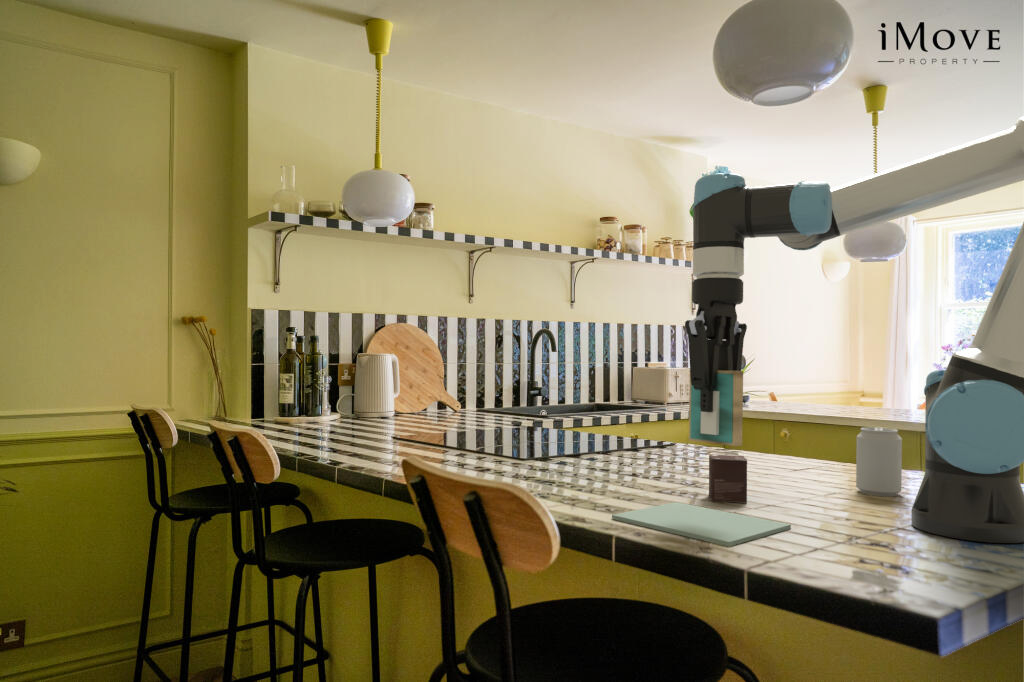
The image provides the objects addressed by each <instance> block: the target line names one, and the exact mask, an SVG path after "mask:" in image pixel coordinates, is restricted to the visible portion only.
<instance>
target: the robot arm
mask: <svg viewBox="0 0 1024 682" xmlns="http://www.w3.org/2000/svg"><path fill="white" fill-rule="evenodd" d="M745 180H746V179H745V178H744V177H743V176H742V175H740V174H738V173H732V172H729V173H722V172H721V173H720V172H719V173H711V174H707V175H703V176H701V177H700V178H698V180H697V181H695V185H694V192H693V193H694V195H693V205H692V214H693V215H692V223H693V224H692V231H693V232H692V235H693V237H692V239H693V240H692V241H693V242H692V275H693V277H695V278H696V279H693V281H692V282H691V301H692V303H693V304H694V305H697V311H696V314H695V316H696V317H694V319H691V320H690V319H687V320H686V321H685V322H684V326H685V327H684V328H685V330H686V333H687V343H688V357H689V377H690V376H691V384H692V386H694V389H695V390H700V392H701V396H700V401H701V402H700V404H701V405H700V409H701V433H703V434H711V435H719V394H720V391H715V389H716V383H717V370H724V371H742V363H743V362H742V361H743V350H744V341H745V340H744V339H745V335H746V332H747V328H748V326H747V324H746V323H741V322H739V321H738V315H737V310H736V306H737V305H741V304H742V303H743V302H744V281H743V279H742V278H741V277H742V276H743V275H744V274H745V262H744V261H745V253H744V252H745V246H744V245H745V239H746V238H747V239H748V238H750V239H751V238H752V239H753V238H754V239H756V238H771V237H773V238H774V237H776V238H778V239H779V241H780V242H781V243H782V244H783V245H784V246H785V247H787V248H790V249H792V250H796V251H809V250H812V249H814V248H816V247H818V246H820V245H821V243H822V242H825V241H829V240H832V239H835V238H838V237H841V236H843V235H847V234H851V233H853V232H857V231H860V230H863V229H867V228H870V227H873V226H877V225H880V224H884V223H886V222H887V223H888V222H890V221H894V220H897V219H900V218H903V217H906V216H909V215H913V214H916V213H920V212H923V211H926V210H929V209H934V208H937V207H940V206H943V205H946V204H950V203H953V202H957V201H959V200H963V199H966V198H969V197H973V196H976V195H979V194H983V193H986V192H990V191H992V190H996V189H999V188H1004V187H1006V186H1010V185H1013V184H1017V183H1019V182H1023V181H1024V116H1022V117H1019V118H1018V119H1017V120H1016V121H1015V123H1014V125H1013V126H1012V127H1011V128H1009V129H1007V130H1006V129H1005V130H1003V131H999V132H997V133H994V134H991V135H988V136H984V137H981V138H979V139H976V140H973V141H970V142H967V143H964V144H962V145H961V144H960V145H958V146H954V147H952V148H949V149H947V150H944V151H940V152H937V153H934V154H931V155H928V156H925V157H923V158H920V159H916V160H913V161H911V162H907V163H905V164H901V165H898V166H895V167H893V168H889V169H886V170H884V171H881V172H880V171H879V172H878V173H875V174H871V175H868V176H865V177H863V178H859V179H856V180H854V181H850V182H848V183H845V184H842V185H839V186H836V187H832V188H831V186H830V185H829V183H827V182H826V181H807V180H801V181H800V182H791V183H782V184H771V185H761V186H747V185H746V181H745ZM1021 225H1022V226H1021V227H1020V230H1019V231H1018V234H1017V237H1016V240H1015V241H1014V244H1013V246H1012V248H1011V251H1010V253H1009V256H1008V258H1007V260H1006V262H1005V265H1004V267H1003V268H1002V272H1001V274H1000V276H999V279H998V282H997V283H996V286H995V288H994V291H993V293H992V295H991V298H990V300H989V301H988V305H987V306H986V309H985V311H984V314H983V316H982V318H981V322H980V323H979V326H978V328H977V330H976V332H975V335H974V338H973V340H972V341H971V343H970V344H971V345H969V346H967V347H966V348H964V349H962V350H958V351H957V352H953V353H952V355H951V357H950V360H949V362H948V364H947V367H946V368H945V369H938V370H934V371H931V372H929V374H927V376H926V379H925V386H924V389H923V392H924V393H923V394H924V395H925V418H924V419H925V422H924V423H925V428H924V429H925V432H924V434H925V437H924V438H925V439H924V442H925V444H924V445H925V446H924V447H925V449H924V459H925V462H924V463H925V464H924V466H925V468H924V476H923V478H922V481H921V483H920V486H919V489H918V492H917V494H916V496H915V498H914V499H915V500H914V501H913V504H912V507H911V515H910V516H911V518H910V520H911V523H910V524H911V525H912V526H913V527H915V528H916V529H918V530H922V531H924V532H926V533H929V534H935V535H937V536H941V537H942V536H943V537H947V538H953V539H959V540H965V541H973V542H981V543H995V544H1021V543H1024V489H1023V487H1022V485H1021V481H1020V479H1021V478H1020V477H1021V476H1020V475H1021V474H1020V473H1021V472H1020V469H1021V467H1020V466H1021V465H1022V464H1024V221H1023V223H1022V224H1021Z"/></svg>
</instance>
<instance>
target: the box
mask: <svg viewBox="0 0 1024 682" xmlns="http://www.w3.org/2000/svg"><path fill="white" fill-rule="evenodd" d="M708 496H709V499H710V501H711V502H720V503H721V502H723V503H724V502H725V503H739V504H740V503H743V504H744V503H745V504H747V502H748V460H747V459H746V458H745V456H744V455H725V454H709V455H708Z"/></svg>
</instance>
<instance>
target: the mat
mask: <svg viewBox="0 0 1024 682" xmlns="http://www.w3.org/2000/svg"><path fill="white" fill-rule="evenodd" d="M611 519H612V520H615V521H620V522H624V523H628V524H632V525H635V526H640V527H646V528H649V529H653V530H657V531H660V532H661V531H662V532H667V533H669V534H673V535H674V534H675V535H679V536H683V537H688V538H691V539H696V540H700V541H705V542H708V543H713V544H715V545H716V544H717V545H720V546H725V547H732V546H736V544H737V545H740V544H742V543H747V542H749V541H753V540H757V539H760V538H763V537H767V536H772V535H774V534H777V533H782V532H784V531H788V530H791V529H792V524H790V523H784V522H778V521H774V520H769V519H765V518H759V517H754V516H749V515H743V514H740V513H739V514H738V513H733V512H730V511H724V510H719V509H715V508H714V509H713V508H708V507H702V506H699V505H698V506H697V505H693V504H688V503H684V502H677V501H674V502H669V503H664V504H660V505H654V506H649V507H644V508H639V509H634V510H630V511H624V512H620V513H619V512H618V513H615V514H612V515H611Z"/></svg>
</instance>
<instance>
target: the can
mask: <svg viewBox="0 0 1024 682" xmlns="http://www.w3.org/2000/svg"><path fill="white" fill-rule="evenodd" d="M898 432H899V430H898V429H894V428H886V427H881V426H879V427H878V426H876V427H861V428H860V432H859V434H857V435H856V453H855V454H856V455H855V456H856V463H855V465H856V467H855V470H856V471H855V472H856V473H855V476H856V477H855V478H856V480H855V481H856V482H855V483H856V484H855V487H856V488H857V489H858V490H859V491H860V492H861V493H863V494H864V495H867V496H876V497H895V496H897V495H898V494H899V493H901V492H902V482H903V481H902V478H903V477H902V474H903V473H902V471H903V469H902V468H903V467H902V465H903V464H902V463H903V460H902V459H903V458H902V457H903V456H902V455H903V454H902V453H903V438H902V437H901V436H900V435H899V434H898Z"/></svg>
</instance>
